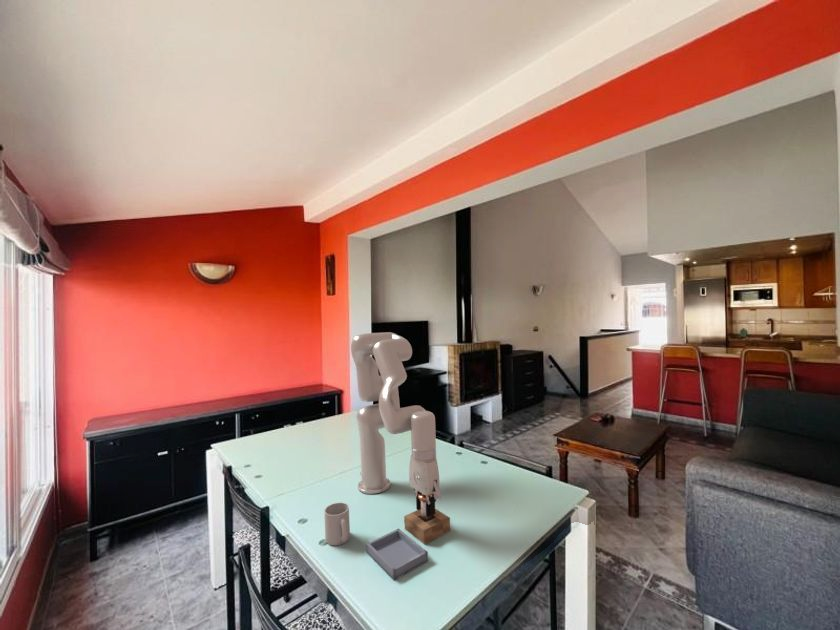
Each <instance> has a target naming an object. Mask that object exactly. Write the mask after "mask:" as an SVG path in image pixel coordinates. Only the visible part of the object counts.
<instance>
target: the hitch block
mask: <svg viewBox="0 0 840 630" xmlns="http://www.w3.org/2000/svg"><path fill="white" fill-rule="evenodd" d="M403 518H404V520H403V521H404V530H406V531H407V532H408V533H409V534H411V535H412V536H413V537H414V538H416V539H417V540H418V541H420V542H421V543H422V544H423V545H426V544H428V543H430V542H432V541H435V540H436V539H438V538H439V537H442V536H443V535H445V534H447V533H449V532H451V518H450V516H448V515H446V514H445V513H443V512H442V511H440V510H439V509H437V508H435V514H433V515H431V520H430V521H428V522H424V521H423V520H422V519H421V509H420V510H417V509H416V510H415V511H412V512H410V513H408V514H405V515H404V516H403Z"/></svg>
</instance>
